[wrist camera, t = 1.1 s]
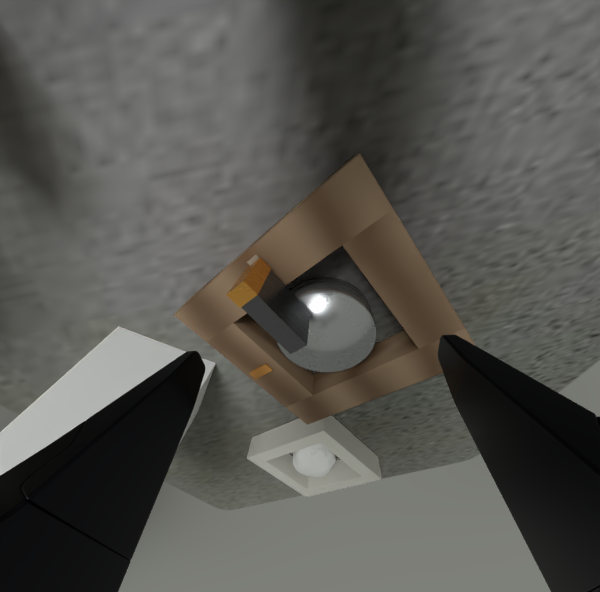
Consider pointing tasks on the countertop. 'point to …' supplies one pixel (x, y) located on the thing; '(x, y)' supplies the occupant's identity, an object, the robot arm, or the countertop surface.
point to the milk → (89, 392)
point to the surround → (377, 269)
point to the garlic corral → (298, 435)
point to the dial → (308, 317)
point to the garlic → (314, 460)
